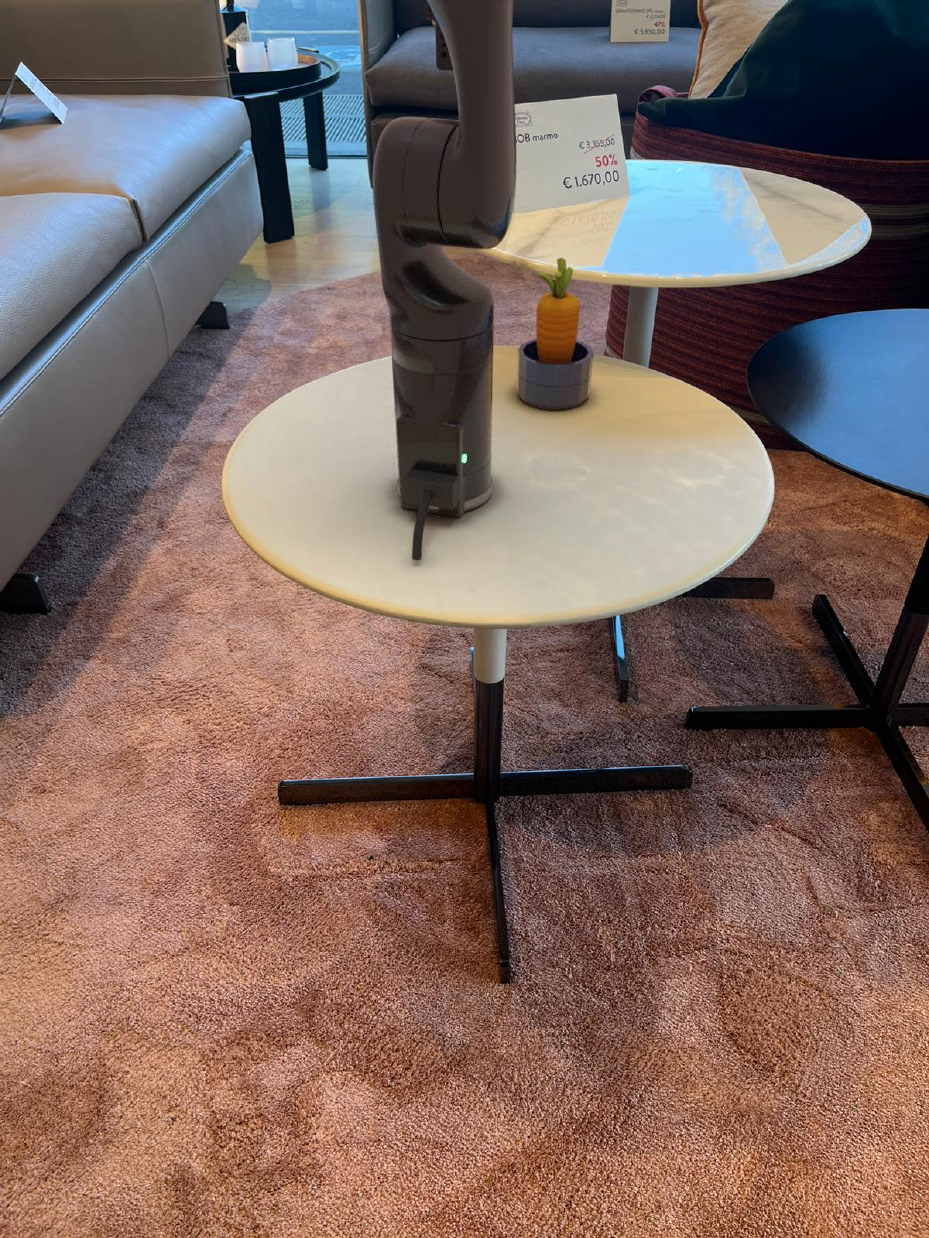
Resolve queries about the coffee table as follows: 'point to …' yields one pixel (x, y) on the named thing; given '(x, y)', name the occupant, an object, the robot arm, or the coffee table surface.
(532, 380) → the cylindrical container
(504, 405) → the coffee table surface
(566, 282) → the carrot
